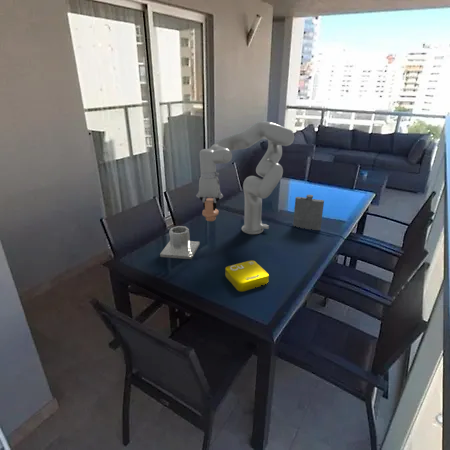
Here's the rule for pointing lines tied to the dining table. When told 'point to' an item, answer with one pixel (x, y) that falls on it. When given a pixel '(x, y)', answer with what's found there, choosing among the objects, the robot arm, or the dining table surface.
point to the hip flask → (308, 212)
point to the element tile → (246, 275)
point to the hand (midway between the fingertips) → (210, 208)
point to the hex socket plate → (180, 244)
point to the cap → (210, 210)
